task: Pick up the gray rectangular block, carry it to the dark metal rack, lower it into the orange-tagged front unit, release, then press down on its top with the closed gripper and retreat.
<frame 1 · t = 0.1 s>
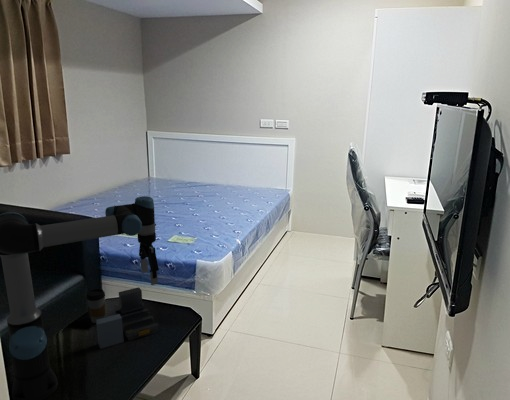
hand: (149, 278, 183), 28 cm above the table, fingers open, 13 cm apart
gray rectangular block: (111, 343, 184), on the table
coffee cup: (98, 320, 201), on the table
rack: (136, 323, 199), on the table
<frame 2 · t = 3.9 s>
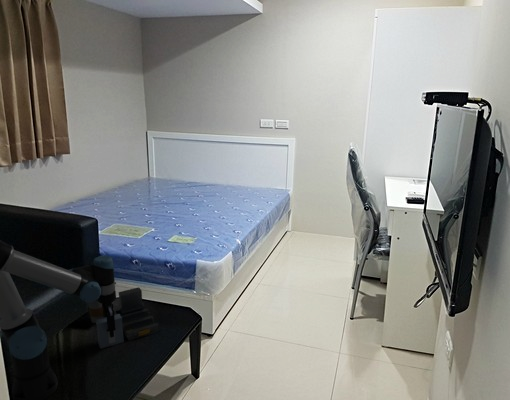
hand: (110, 339, 183), 2 cm above the table, fingers closed on gray rectangular block, 4 cm apart
gray rectangular block: (111, 343, 184), on the table, touching gripper
everything else where it was.
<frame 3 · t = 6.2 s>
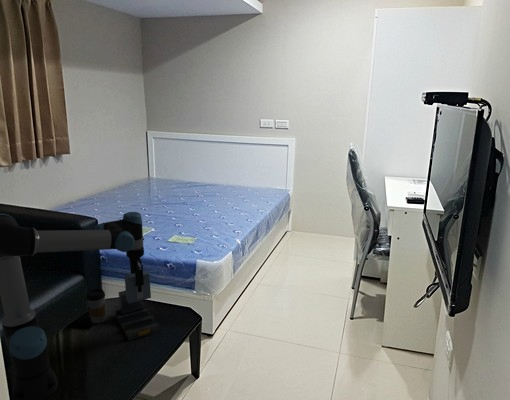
hand: (138, 295, 188), 18 cm above the table, fingers closed on gray rectangular block, 4 cm apart
gray rectangular block: (138, 298, 188), point 17 cm above the table, touching gripper
everything else where it was.
when the fingers open (6 cm above the table, at t = 9.0 s): gray rectangular block drops 2 cm, resting on rack.
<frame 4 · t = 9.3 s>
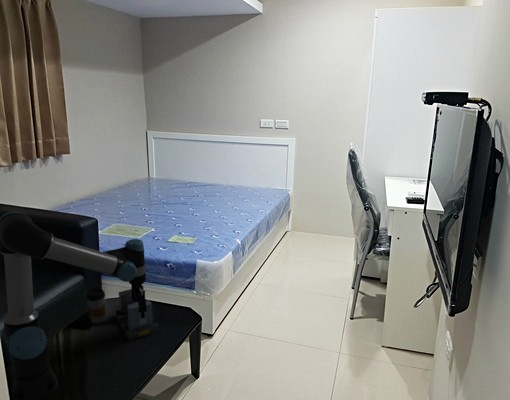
hand: (140, 319, 191), 6 cm above the table, fingers open, 8 cm apart
gray rectangular block: (140, 327, 192), point 2 cm above the table, touching rack
everything else where it was.
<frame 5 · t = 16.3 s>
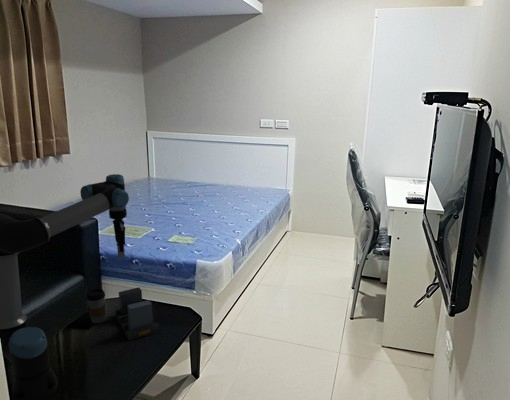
hand: (121, 257, 194), 32 cm above the table, fingers closed
nothing on the table moved.
at the end: gray rectangular block 0.0 cm from the target spot on the rack, point 1.6 cm above the rack's base; gray rectangular block tilted 1°; the gripper is holding nothing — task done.
